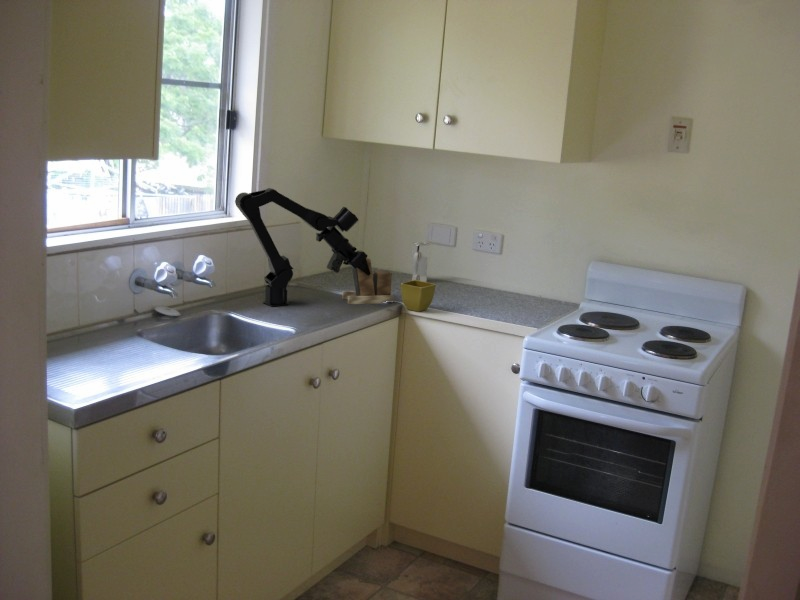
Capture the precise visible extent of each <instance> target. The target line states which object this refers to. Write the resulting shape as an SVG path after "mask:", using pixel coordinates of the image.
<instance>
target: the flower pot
mask: <svg viewBox="0 0 800 600" xmlns="http://www.w3.org/2000/svg"><path fill="white" fill-rule="evenodd" d="M411 280H412V279H411ZM411 280H409V281H405V282H402V283H400V293H401V301H402V303H403V305H404V307H405V309H406V310H408V311H413V312H418V313H419V312H422V311H423V312H424V311H426V310H427V309H428V308H430V305H431V303H432V302H433V299H434V295H435V291H436V285H437V284H436V283H431V282H428V281H427V282H423V281H418V280H412V281H411Z"/></svg>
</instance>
